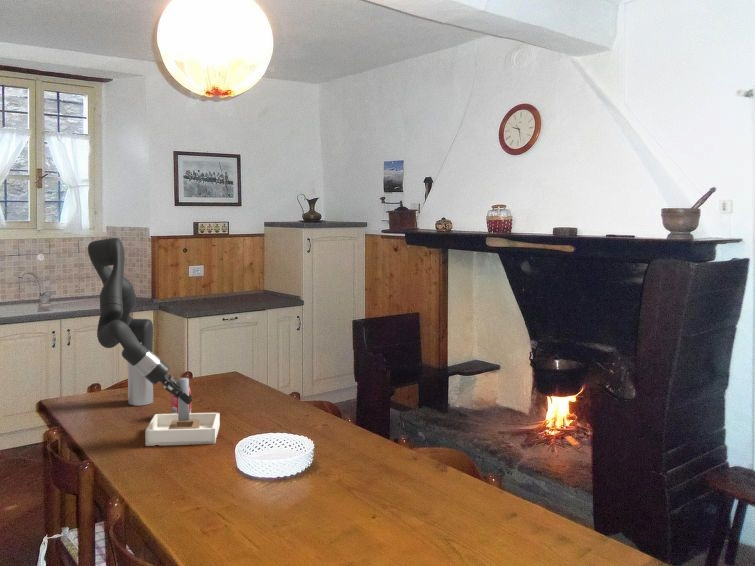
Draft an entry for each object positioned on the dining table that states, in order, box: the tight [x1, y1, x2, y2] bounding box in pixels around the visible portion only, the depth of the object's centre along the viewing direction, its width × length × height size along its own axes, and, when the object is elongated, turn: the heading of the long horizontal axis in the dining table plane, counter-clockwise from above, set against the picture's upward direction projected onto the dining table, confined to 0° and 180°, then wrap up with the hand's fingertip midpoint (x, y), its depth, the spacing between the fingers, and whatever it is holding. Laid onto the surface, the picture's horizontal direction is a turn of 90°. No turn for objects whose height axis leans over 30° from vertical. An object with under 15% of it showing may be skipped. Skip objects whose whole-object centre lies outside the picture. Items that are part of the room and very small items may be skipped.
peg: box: [177, 377, 190, 421], centre depth 233 cm, size 4×4×14 cm
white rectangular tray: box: [144, 412, 221, 447], centre depth 234 cm, size 18×22×5 cm
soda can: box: [170, 386, 192, 414], centre depth 255 cm, size 7×7×12 cm
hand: (189, 400), depth 234 cm, fingers closed on peg, 3 cm apart
